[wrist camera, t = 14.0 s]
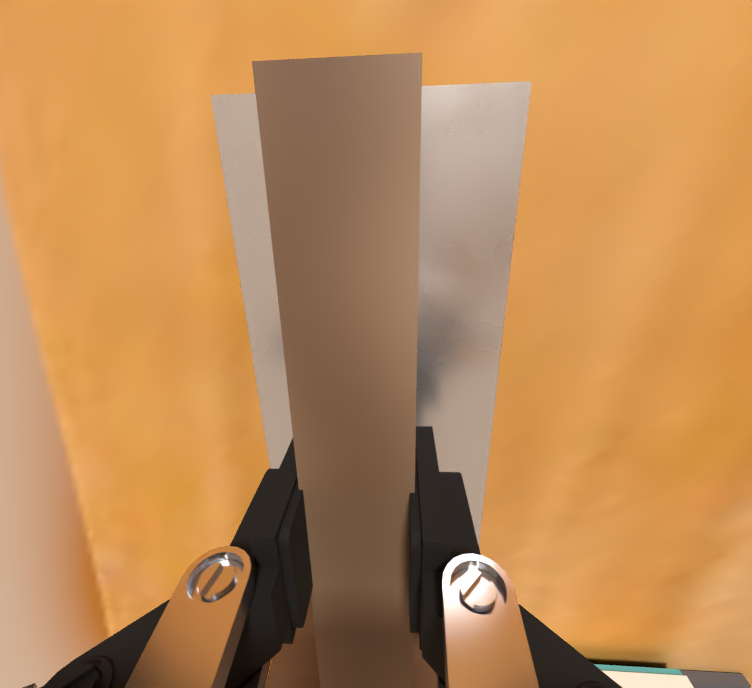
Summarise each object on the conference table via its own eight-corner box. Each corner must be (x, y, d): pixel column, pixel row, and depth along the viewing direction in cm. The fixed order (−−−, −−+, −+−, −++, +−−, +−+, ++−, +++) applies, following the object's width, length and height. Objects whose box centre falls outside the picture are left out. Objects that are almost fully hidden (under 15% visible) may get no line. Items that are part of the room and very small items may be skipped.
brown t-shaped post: (488, 119, 9) (553, 45, 5) (455, 604, 14) (475, 739, 11) (240, 128, 9) (133, 67, 6) (298, 597, 15) (264, 725, 11)
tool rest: (516, 94, 10) (531, 81, 9) (465, 593, 17) (470, 620, 16) (231, 106, 10) (210, 95, 9) (299, 585, 18) (293, 611, 17)
